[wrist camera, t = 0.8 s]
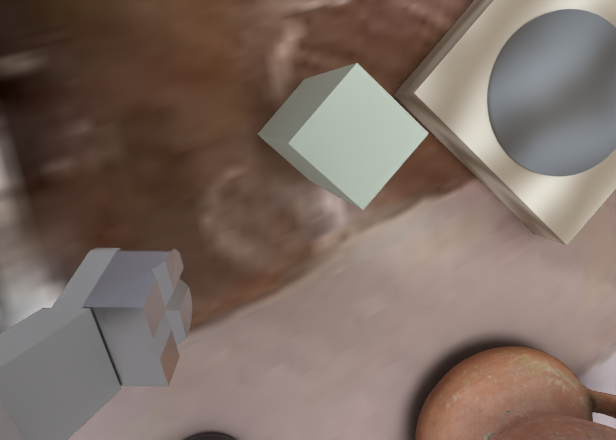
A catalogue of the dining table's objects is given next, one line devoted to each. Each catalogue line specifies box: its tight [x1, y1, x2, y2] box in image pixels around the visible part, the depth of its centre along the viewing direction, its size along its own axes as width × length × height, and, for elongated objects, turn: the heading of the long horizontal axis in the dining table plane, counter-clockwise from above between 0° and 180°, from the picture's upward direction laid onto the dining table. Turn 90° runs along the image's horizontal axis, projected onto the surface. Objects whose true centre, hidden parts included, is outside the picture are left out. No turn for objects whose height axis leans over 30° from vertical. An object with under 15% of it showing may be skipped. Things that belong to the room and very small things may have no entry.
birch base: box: [394, 0, 616, 245], centre depth 41 cm, size 16×14×5 cm
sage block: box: [257, 63, 429, 210], centre depth 34 cm, size 5×5×13 cm
